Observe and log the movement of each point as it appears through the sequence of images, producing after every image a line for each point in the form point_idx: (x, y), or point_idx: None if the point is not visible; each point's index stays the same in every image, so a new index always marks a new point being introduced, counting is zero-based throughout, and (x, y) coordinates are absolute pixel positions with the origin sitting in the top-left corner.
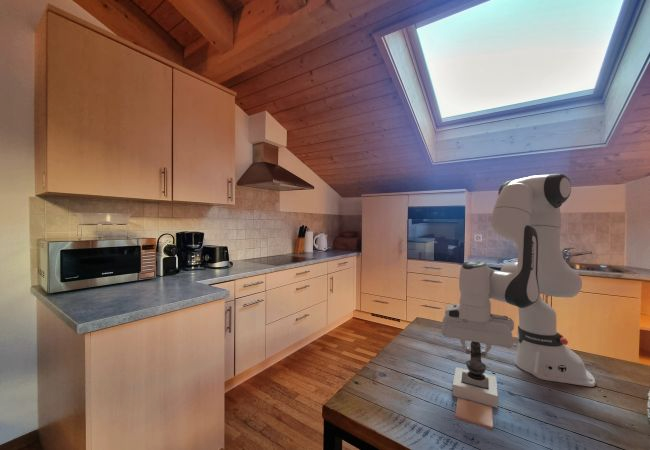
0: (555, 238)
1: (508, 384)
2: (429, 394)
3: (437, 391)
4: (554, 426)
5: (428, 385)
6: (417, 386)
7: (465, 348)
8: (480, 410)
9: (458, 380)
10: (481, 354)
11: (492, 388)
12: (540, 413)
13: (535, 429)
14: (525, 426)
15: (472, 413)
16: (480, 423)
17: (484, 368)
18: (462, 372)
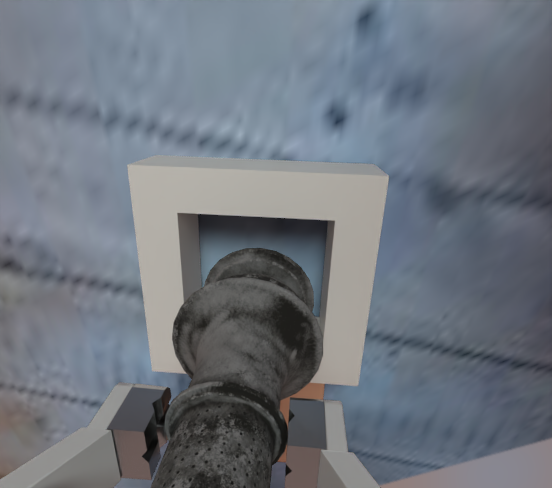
0: None
1: (459, 89)
2: (87, 363)
3: (108, 331)
4: (542, 374)
5: (59, 302)
6: (23, 329)
7: (110, 478)
8: (280, 403)
9: (171, 326)
10: (281, 449)
11: (342, 332)
12: (525, 313)
13: (458, 412)
14: (428, 409)
15: None
16: (278, 460)
17: (306, 383)
18: (178, 218)
